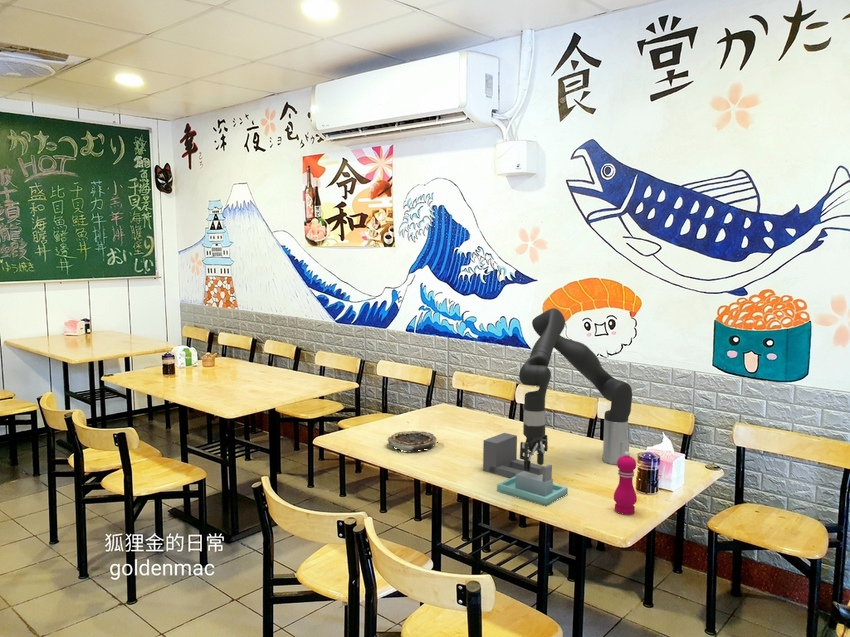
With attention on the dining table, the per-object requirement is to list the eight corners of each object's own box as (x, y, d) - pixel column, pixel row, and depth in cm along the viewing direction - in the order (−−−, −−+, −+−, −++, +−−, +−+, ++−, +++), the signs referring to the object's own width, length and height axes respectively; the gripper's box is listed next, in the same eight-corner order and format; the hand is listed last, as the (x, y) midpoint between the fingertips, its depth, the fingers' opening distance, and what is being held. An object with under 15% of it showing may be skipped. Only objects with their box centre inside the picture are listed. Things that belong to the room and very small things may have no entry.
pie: (456, 450, 279) (456, 439, 279) (401, 462, 264) (400, 450, 264) (421, 434, 303) (421, 424, 302) (368, 444, 288) (368, 433, 287)
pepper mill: (608, 510, 215) (611, 451, 213) (620, 504, 220) (622, 446, 218) (629, 517, 210) (631, 456, 208) (640, 511, 215) (642, 451, 213)
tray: (567, 494, 229) (567, 487, 229) (546, 506, 218) (546, 498, 218) (519, 480, 242) (519, 474, 242) (497, 491, 232) (497, 484, 231)
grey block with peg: (552, 492, 228) (553, 464, 227) (544, 496, 224) (545, 468, 223) (523, 484, 236) (524, 457, 235) (515, 488, 232) (516, 460, 231)
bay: (545, 472, 251) (545, 442, 250) (524, 482, 240) (525, 450, 239) (503, 461, 263) (504, 432, 262) (483, 470, 253) (483, 440, 252)
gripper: (536, 416, 235) (535, 460, 237) (513, 424, 224) (513, 470, 226) (554, 419, 230) (553, 464, 232) (532, 428, 220) (532, 475, 221)
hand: (533, 467), depth 229 cm, fingers open, 8 cm apart
